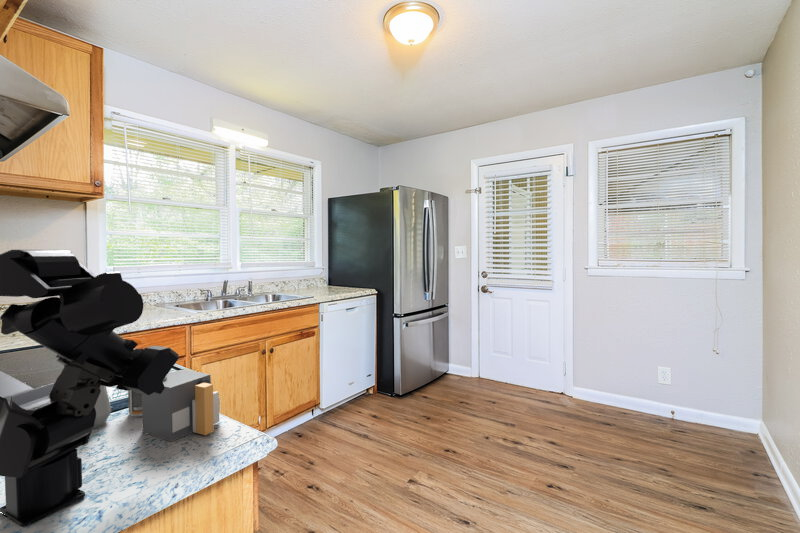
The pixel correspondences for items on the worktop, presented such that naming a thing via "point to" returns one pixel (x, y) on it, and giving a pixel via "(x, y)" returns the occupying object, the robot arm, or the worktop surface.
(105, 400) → the salt shaker
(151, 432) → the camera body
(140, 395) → the pill bottle
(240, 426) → the worktop surface
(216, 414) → the wooden upright post
